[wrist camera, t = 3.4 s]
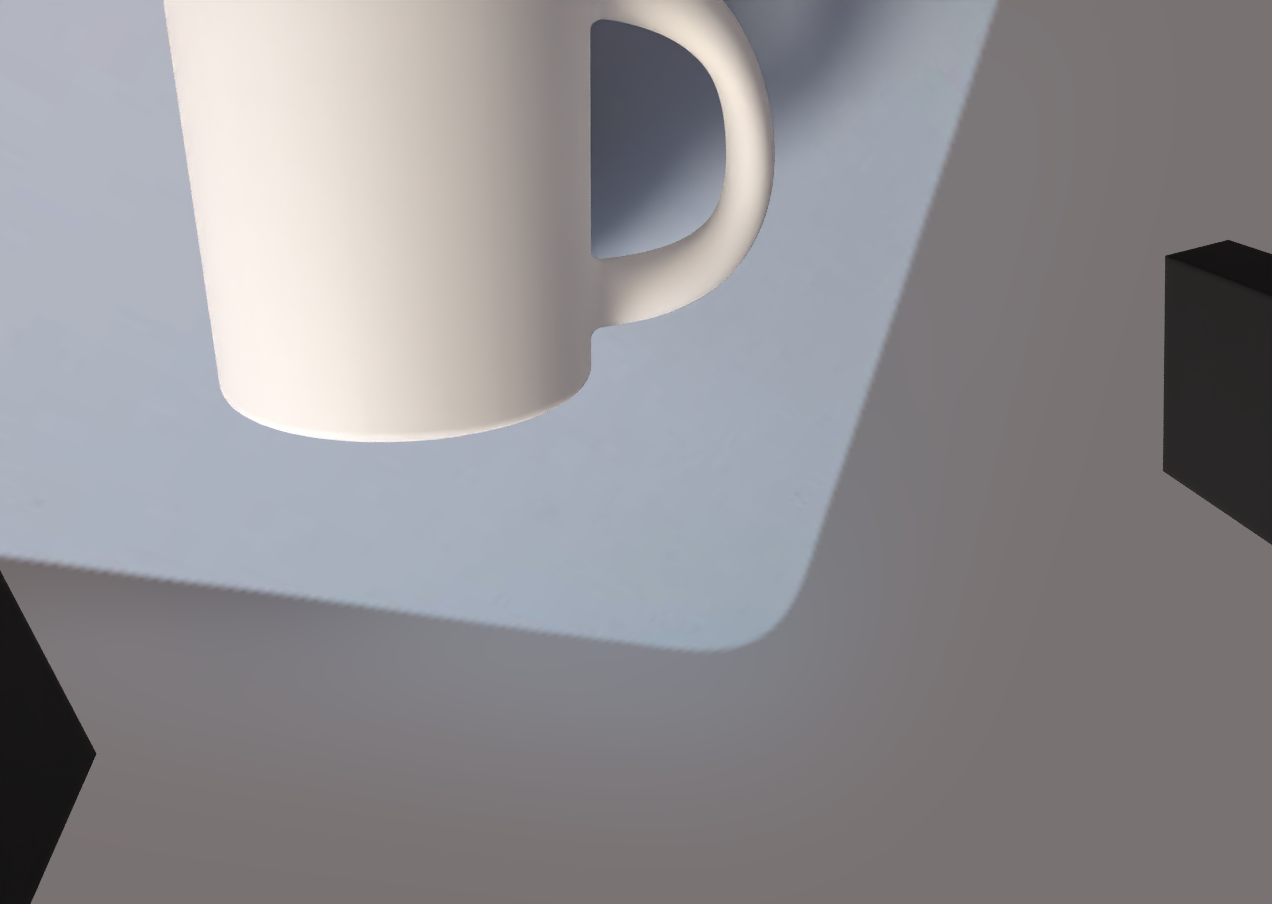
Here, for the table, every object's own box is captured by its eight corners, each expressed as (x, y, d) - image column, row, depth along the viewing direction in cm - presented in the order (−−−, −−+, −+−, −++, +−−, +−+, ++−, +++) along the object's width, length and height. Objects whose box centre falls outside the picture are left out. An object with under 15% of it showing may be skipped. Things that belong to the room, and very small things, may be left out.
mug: (252, 330, 27) (185, 457, 20) (193, -119, 23) (83, -163, 16) (720, 314, 29) (813, 425, 22) (739, -104, 25) (861, -138, 18)
